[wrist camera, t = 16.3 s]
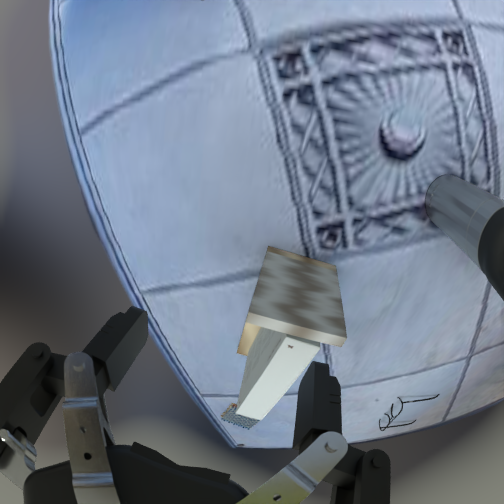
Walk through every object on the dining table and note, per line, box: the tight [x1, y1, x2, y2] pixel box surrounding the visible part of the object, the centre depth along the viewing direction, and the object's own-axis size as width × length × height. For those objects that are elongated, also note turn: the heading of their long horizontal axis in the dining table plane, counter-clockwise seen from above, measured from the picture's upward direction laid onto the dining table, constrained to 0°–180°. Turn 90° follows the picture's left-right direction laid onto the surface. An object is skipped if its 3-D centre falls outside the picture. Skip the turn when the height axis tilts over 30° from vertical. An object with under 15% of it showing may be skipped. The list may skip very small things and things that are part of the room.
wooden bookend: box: [237, 246, 347, 356], centre depth 44 cm, size 12×25×18 cm, turn 167°
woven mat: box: [221, 403, 260, 430], centre depth 71 cm, size 10×11×2 cm
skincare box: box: [235, 327, 320, 420], centre depth 44 cm, size 21×5×16 cm, turn 160°
